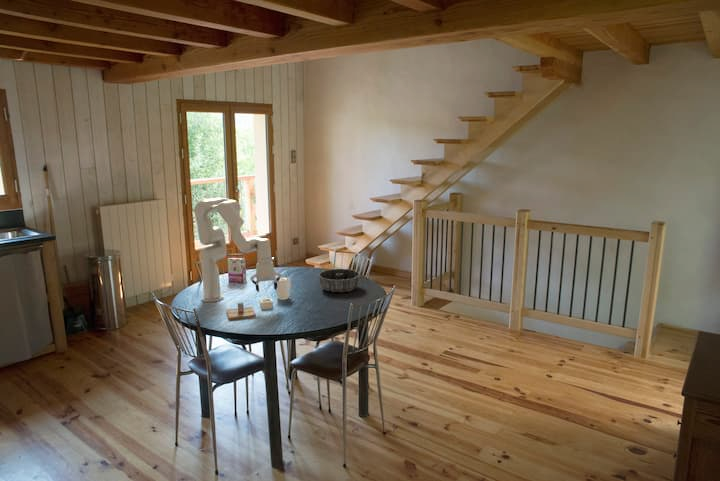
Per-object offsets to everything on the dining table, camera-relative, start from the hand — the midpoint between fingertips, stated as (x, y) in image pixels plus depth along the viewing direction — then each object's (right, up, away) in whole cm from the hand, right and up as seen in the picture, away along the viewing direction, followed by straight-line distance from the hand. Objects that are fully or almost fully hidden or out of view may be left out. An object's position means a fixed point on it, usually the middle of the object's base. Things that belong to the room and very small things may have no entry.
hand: (266, 290), depth 280 cm
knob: (0, -10, +2) cm, 10 cm away
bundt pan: (+39, -3, +36) cm, 53 cm away
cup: (+7, -7, +18) cm, 20 cm away
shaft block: (-12, -12, -10) cm, 20 cm away
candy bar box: (-29, 0, +54) cm, 61 cm away
